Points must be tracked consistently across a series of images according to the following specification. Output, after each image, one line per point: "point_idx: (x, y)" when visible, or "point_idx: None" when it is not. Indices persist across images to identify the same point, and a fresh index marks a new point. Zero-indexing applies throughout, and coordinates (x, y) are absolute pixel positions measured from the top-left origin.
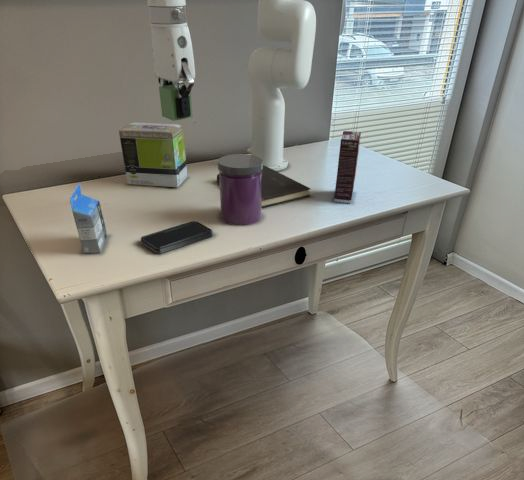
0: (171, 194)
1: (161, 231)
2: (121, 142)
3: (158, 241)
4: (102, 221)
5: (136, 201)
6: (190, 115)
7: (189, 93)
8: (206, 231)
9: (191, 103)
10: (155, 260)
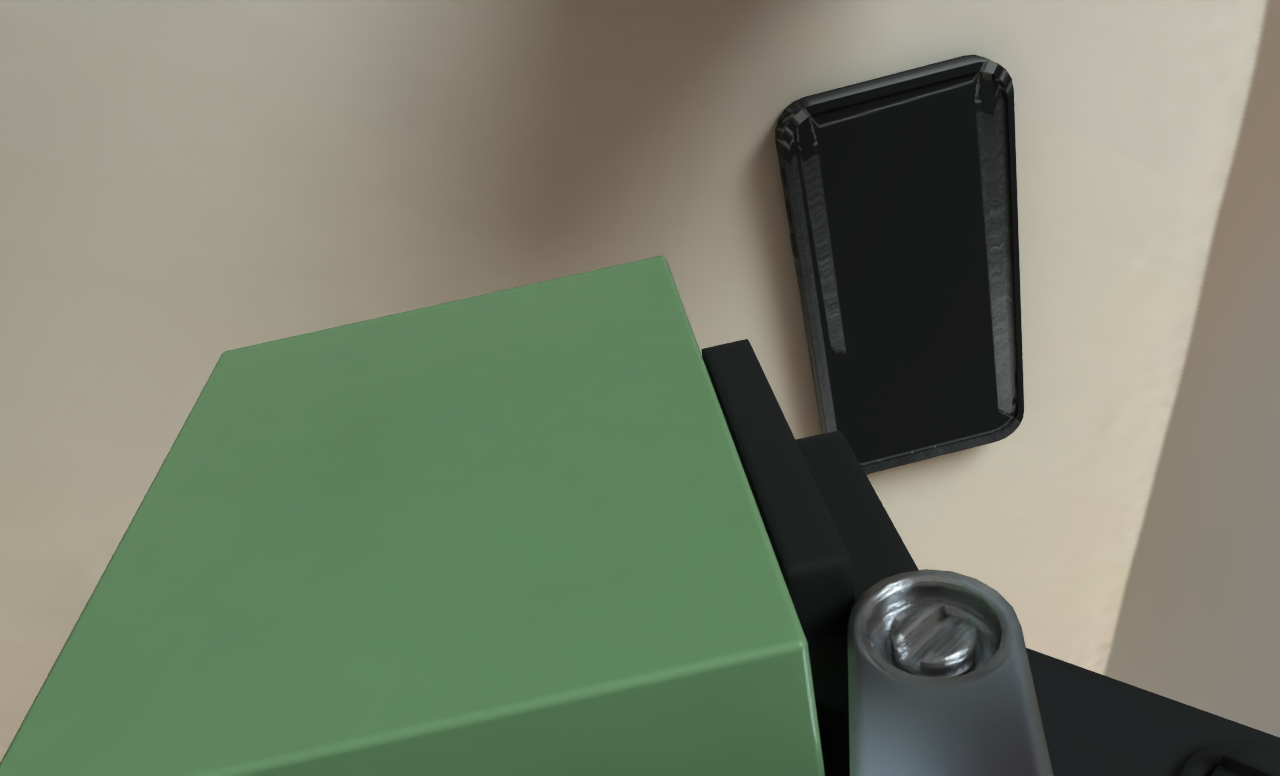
0: (74, 71)
1: (820, 358)
2: None
3: (931, 402)
4: None
5: (176, 358)
6: (748, 342)
7: (1117, 683)
8: (977, 102)
9: (710, 384)
10: (1051, 438)
